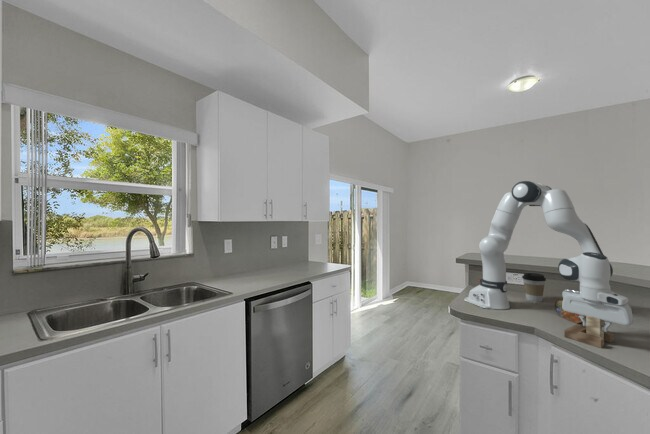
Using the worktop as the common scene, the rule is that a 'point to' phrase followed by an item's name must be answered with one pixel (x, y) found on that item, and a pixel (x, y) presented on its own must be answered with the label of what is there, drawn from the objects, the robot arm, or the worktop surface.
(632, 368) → the worktop surface
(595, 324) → the maple block
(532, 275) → the coffee cup
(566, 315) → the tin
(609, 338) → the notched board
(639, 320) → the worktop surface
